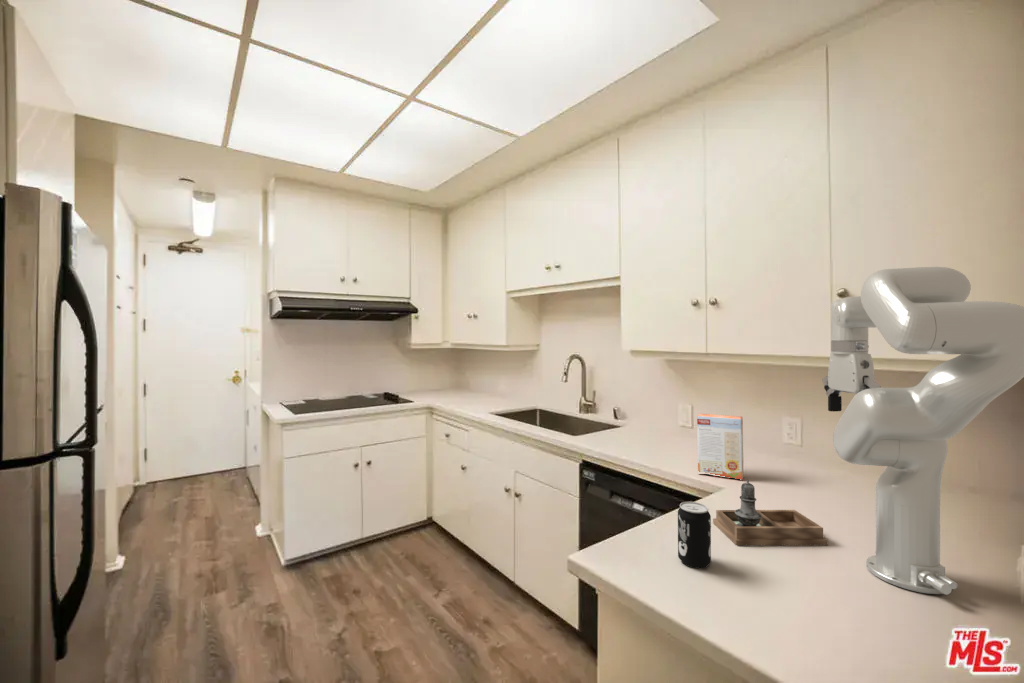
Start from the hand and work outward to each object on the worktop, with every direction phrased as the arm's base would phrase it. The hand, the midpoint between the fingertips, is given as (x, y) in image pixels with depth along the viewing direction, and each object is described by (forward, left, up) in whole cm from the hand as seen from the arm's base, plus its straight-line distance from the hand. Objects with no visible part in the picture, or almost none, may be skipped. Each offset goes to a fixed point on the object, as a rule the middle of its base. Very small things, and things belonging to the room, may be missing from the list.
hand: (849, 414), depth 109 cm
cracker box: (+39, +15, -29) cm, 51 cm away
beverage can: (-18, +47, -28) cm, 58 cm away
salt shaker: (-5, +29, -27) cm, 40 cm away
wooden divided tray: (-5, +24, -28) cm, 37 cm away
